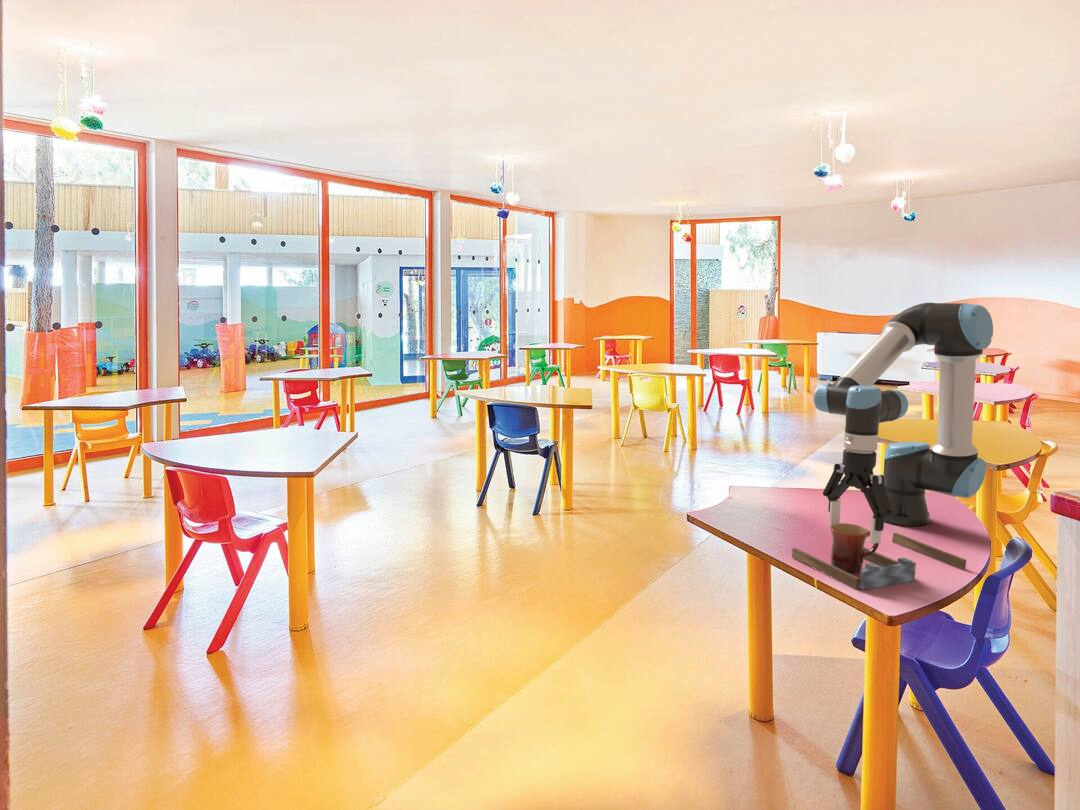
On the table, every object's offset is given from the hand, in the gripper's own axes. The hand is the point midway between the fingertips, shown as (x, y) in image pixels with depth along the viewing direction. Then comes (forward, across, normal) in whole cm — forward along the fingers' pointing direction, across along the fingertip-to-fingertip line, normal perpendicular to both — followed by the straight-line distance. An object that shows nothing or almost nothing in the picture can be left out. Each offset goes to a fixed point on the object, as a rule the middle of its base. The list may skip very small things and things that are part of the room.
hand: (853, 534), depth 193 cm
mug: (+9, +1, 0) cm, 9 cm away
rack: (+9, 0, +8) cm, 12 cm away
